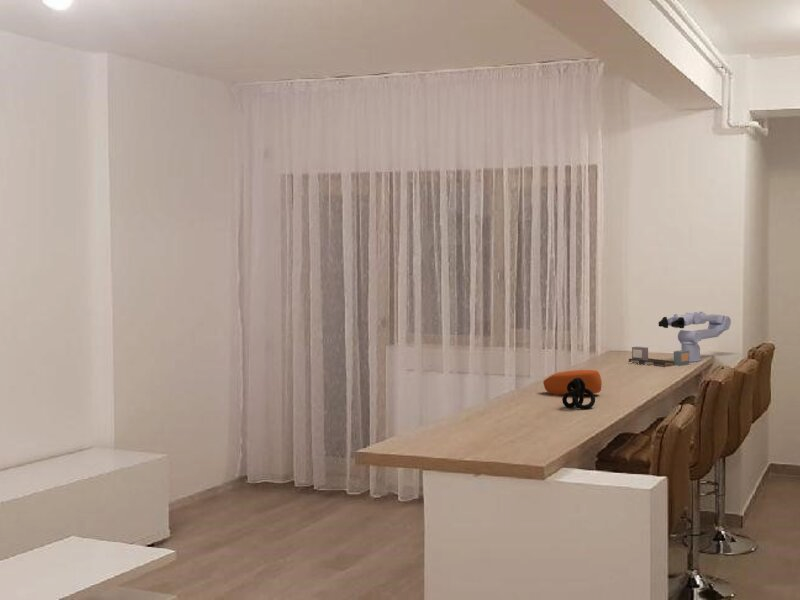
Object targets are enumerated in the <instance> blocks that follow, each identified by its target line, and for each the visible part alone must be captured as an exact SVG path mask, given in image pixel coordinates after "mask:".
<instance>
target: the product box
mask: <svg viewBox="0 0 800 600" xmlns="http://www.w3.org/2000/svg"><path fill="white" fill-rule="evenodd" d="M673 361H674V366H677V367H678V366H679V367H684V366H689V365H690V362H689V351H687V350H681V349H679V350H674V351H673Z"/></svg>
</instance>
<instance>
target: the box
mask: <svg viewBox="0 0 800 600" xmlns="http://www.w3.org/2000/svg"><path fill="white" fill-rule="evenodd" d="M648 358H649V347H647V346H646V347H644V346H632V347H631V359H638V360H647V361H648Z"/></svg>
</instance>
